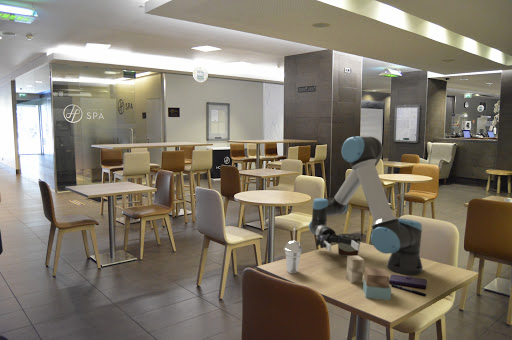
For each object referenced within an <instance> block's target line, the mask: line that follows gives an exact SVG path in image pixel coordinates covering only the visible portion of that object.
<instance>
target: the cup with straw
mask: <svg viewBox="0 0 512 340" xmlns="http://www.w3.org/2000/svg"><path fill="white" fill-rule="evenodd" d="M296 230H297V224H296V223H295V224H294V227H293V237H292V238H293V239H291V240H289V241H288V242H286V243H285V246H284V247H283V251H284V253H285V259H286V260H285V261H286V272H287V273H289V274H296V273H298V269H299V264H300V259H301V258H300V257H301V255H302V252H304V249H303V247H302V245H301V244H300V242H299V241H297V240H296Z"/></svg>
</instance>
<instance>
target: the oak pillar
mask: <svg viewBox="0 0 512 340" xmlns="http://www.w3.org/2000/svg"><path fill="white" fill-rule="evenodd" d="M364 264H365V259H364V258H362V257H361V256H360V255H358V256H346V270H345V271H346V272H345V273H346V275H345V279H346V280H347V281H348V283H350V284H363V280H364V268H365V266H364Z"/></svg>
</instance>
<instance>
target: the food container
mask: <svg viewBox="0 0 512 340" xmlns="http://www.w3.org/2000/svg"><path fill="white" fill-rule="evenodd" d="M342 234H343V235H345V236H347V237H351V238H354V239H357V240H358V241H357V243H358V244H359V245H361V243H362V237H361V236H359V235H357V234H354V233H353V234H352V233H339V234H338V235H339V236H341V235H342ZM338 241H339V240H338ZM359 248H360V246H359ZM337 249H338V250H337V252H338V256H344V257H347V256H359V251H360V250H359V251H357V250H356V249H354V248H353V247H352V246H351V245H348V244H344V243H337Z"/></svg>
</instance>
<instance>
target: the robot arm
mask: <svg viewBox="0 0 512 340" xmlns="http://www.w3.org/2000/svg"><path fill="white" fill-rule="evenodd" d="M383 152H384V147H383V144H382V142H381V140H380V139H378V138H376V137H375V136H359V135H358V136H357V135H355V136H351V137H348V138H347V139H346V140H344V142H343V144H342V146H341V156H342V158H343V160H344V161H345V162H348V163H349V164H350V167H351V171H350V173H349V174H348V175H347V177H346V179H345V180H344V182H343V183H342V185H341V186H340V187H339V189H338V191H337V192H336V194H335V195H334V197H333V199H332V200H328V199H327V198H323V197H317V198H314V199H313V201H312V214H311V221H309V223H308V229H309V231H310V232H311V234H312V235H314V236H315V237H316V241H315V243H316V244H315V246H317V247H320V248H322V249H323V248H324V249H325V250H327V251H328V252H331V251H332V245H331V244H332V243H336V244H338V243H344V244H348V245H351V246H352V247H353V248H354V249H356V250H357V251H360V247H359V246H360V245H361V244H360V245H359V244H358V243H357V241H358V240H357V239H354V238H351V237H347V236H345V235H343V234H344V233H341V234H342V235H341V236H339V234H336V231H334V229H333V228H331V227H329V226H328V225H327V222H328V219H327V218H328V217H329V216H337V215H342V214H345V213H346V212H347V210H348V203H349V202H350V201H351V199H352V197H353V196H354V195H355V193H356V192H357V190H358V188H359V187H360V186H361V189H362V191H363V194H364V198H365V200H366V202H367V205H368V208H369V211H370V214H371V217H372V220H373V222H372V224H371V228H372V231H371V235H370V241H371V244H372V245H373V247H374V248H375V250H377V251H378V252H380V253H382V254H390V256H389V258H388V260H387V265H386V266H387V268H388V269H389V270H390V271H392V272H393V273H398V274H401V275H409V276H411V275H412V276H413V275H415V276H416V275H420V274H422V273H423V264H422V259H421V255H420V251H421V241H422V232H423V229H422V228H423V227H422V226H423V225H422V223H421V222H419V221H417V220H412V219H407V218H399V217H396V216H395V215H393V212H392V208H391V207H390V206H391V205H390V203H389V201H388V198H387V196H386V193H385V192H386V191H385V189H384V187H383V183H382V181H381V179H380V176H379V173H378V171H377V170H378V169H377V168H376V166H377V165H378V164H379V162H380V161H381V158H382V156H383ZM338 240H339V241H338Z"/></svg>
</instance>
